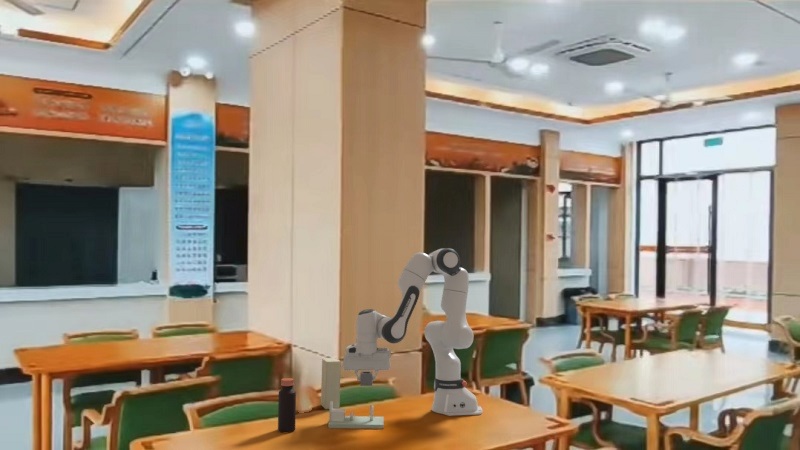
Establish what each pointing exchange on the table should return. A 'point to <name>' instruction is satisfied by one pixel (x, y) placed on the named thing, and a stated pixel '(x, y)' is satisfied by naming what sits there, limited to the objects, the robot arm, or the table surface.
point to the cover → (336, 414)
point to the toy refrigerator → (330, 382)
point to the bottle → (287, 406)
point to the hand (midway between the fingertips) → (366, 380)
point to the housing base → (359, 421)
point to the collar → (366, 378)
